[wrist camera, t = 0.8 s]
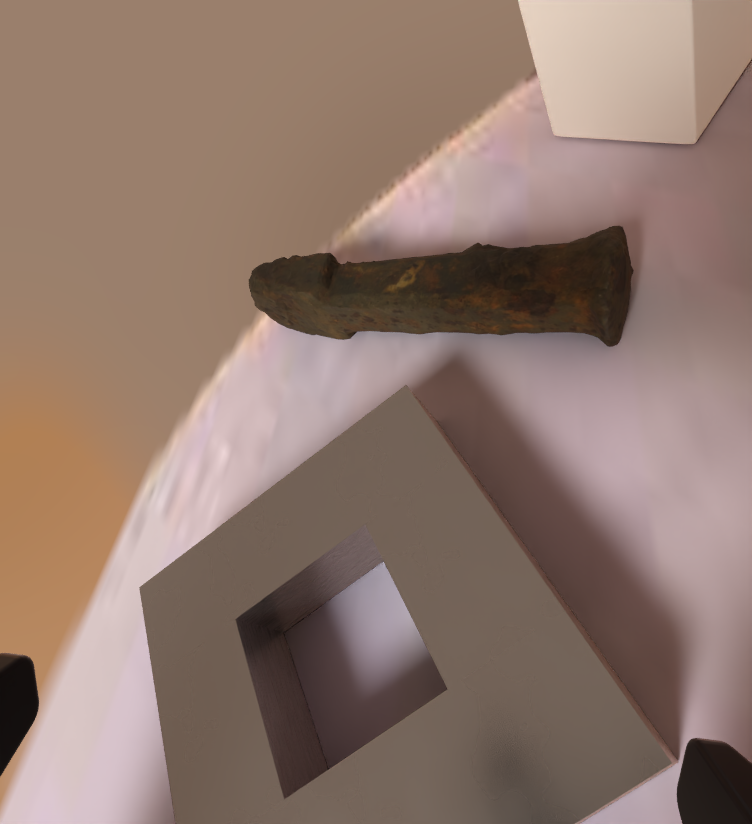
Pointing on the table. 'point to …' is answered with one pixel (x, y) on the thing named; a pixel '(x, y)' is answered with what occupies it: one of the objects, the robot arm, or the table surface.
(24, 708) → the robot arm
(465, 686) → the grey square hole board
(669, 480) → the table surface
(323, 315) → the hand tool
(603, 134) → the milk carton
